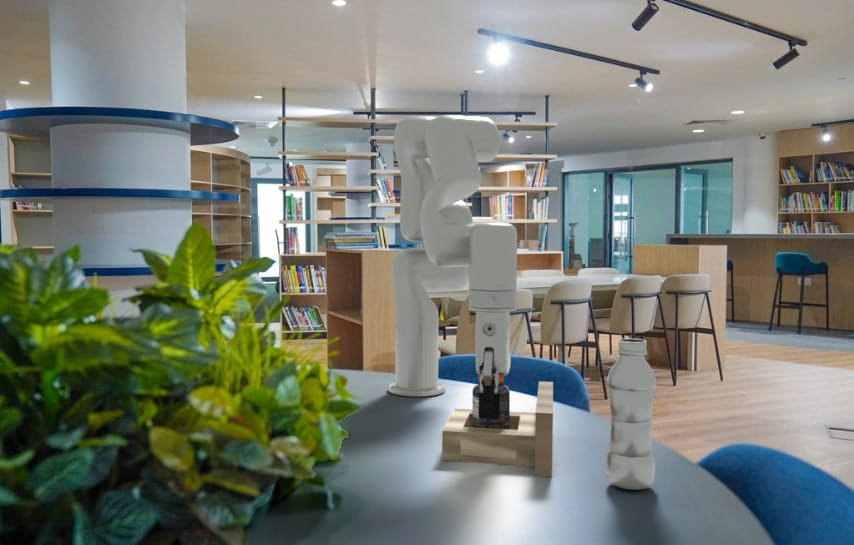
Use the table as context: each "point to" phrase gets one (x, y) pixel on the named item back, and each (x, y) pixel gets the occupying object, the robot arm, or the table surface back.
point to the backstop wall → (544, 429)
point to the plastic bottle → (631, 417)
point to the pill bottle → (504, 407)
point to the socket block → (490, 440)
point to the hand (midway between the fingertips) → (491, 411)
